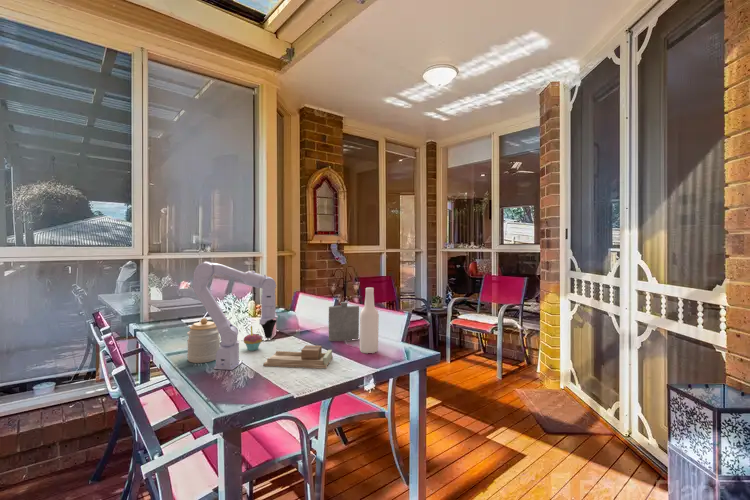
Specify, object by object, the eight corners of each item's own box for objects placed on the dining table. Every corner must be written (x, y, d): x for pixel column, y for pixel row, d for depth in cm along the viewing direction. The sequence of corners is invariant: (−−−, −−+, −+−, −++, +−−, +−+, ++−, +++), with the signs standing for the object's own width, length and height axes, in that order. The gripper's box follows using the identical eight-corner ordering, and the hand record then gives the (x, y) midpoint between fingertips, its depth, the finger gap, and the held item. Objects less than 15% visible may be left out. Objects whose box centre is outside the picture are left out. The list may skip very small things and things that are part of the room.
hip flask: (358, 338, 197) (358, 300, 196) (359, 340, 193) (359, 302, 192) (328, 339, 193) (328, 301, 193) (329, 341, 189) (329, 303, 189)
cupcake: (258, 352, 170) (258, 326, 170) (240, 351, 170) (240, 325, 170) (264, 346, 179) (264, 322, 178) (247, 346, 179) (247, 321, 179)
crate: (317, 362, 153) (317, 350, 153) (301, 361, 154) (301, 349, 154) (321, 357, 160) (321, 345, 160) (305, 356, 161) (305, 345, 160)
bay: (325, 368, 149) (325, 358, 149) (263, 365, 151) (263, 356, 151) (332, 357, 163) (332, 348, 163) (275, 355, 165) (275, 346, 165)
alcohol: (355, 350, 175) (356, 287, 174) (370, 347, 180) (371, 286, 179) (366, 355, 168) (367, 289, 167) (381, 351, 173) (382, 288, 172)
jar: (207, 364, 152) (207, 322, 152) (180, 362, 155) (180, 320, 154) (226, 355, 165) (226, 316, 164) (200, 353, 167) (200, 314, 167)
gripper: (271, 309, 148) (271, 342, 149) (283, 303, 163) (283, 333, 163) (254, 308, 149) (254, 342, 149) (267, 302, 163) (267, 333, 164)
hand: (268, 337), depth 156 cm, fingers closed
